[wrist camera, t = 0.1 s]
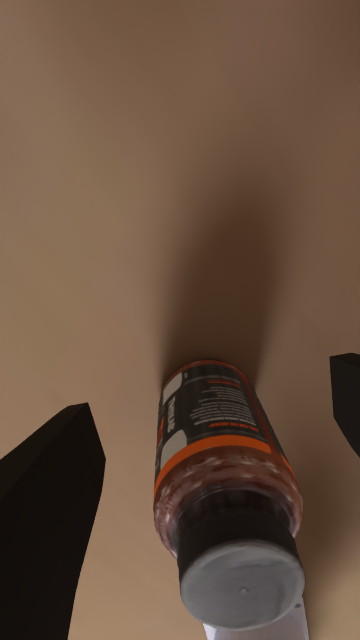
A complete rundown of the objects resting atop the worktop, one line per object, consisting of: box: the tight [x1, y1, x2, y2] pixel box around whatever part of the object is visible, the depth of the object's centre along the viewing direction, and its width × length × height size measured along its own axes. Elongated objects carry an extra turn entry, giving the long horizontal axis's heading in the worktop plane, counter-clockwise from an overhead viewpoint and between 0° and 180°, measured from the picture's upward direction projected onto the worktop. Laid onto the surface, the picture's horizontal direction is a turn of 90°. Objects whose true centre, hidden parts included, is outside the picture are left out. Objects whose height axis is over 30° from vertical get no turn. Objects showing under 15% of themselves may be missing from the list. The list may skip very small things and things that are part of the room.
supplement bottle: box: [153, 360, 305, 631], centre depth 16 cm, size 6×6×11 cm
